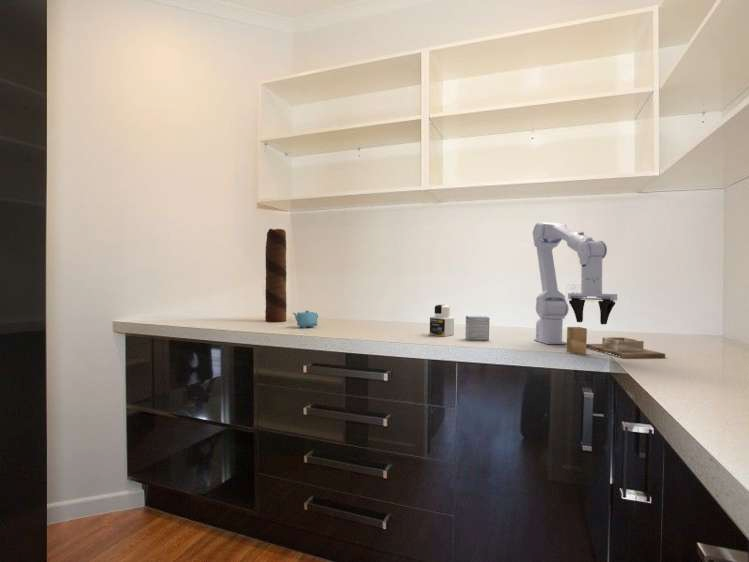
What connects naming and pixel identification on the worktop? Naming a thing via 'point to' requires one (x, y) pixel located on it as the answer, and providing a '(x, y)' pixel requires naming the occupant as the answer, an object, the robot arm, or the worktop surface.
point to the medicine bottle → (442, 322)
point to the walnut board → (625, 348)
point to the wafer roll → (276, 276)
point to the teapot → (306, 319)
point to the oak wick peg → (576, 340)
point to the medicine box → (477, 328)
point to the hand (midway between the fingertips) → (591, 323)
